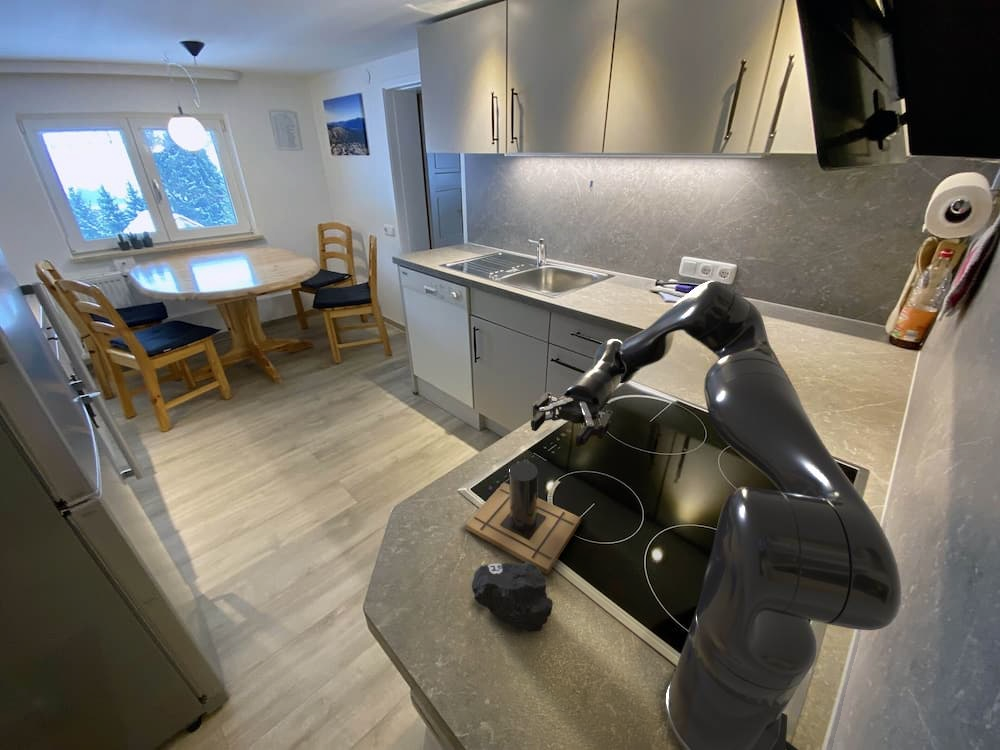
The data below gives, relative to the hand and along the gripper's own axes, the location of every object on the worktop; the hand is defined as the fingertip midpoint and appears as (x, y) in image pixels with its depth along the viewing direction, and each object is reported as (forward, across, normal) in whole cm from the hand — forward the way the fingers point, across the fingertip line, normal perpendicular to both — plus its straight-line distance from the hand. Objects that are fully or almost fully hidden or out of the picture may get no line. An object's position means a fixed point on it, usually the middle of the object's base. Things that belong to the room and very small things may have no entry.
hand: (554, 434), depth 72 cm
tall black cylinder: (+10, -1, +12) cm, 16 cm away
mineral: (+22, +5, +14) cm, 27 cm away
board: (+10, -1, +13) cm, 17 cm away
